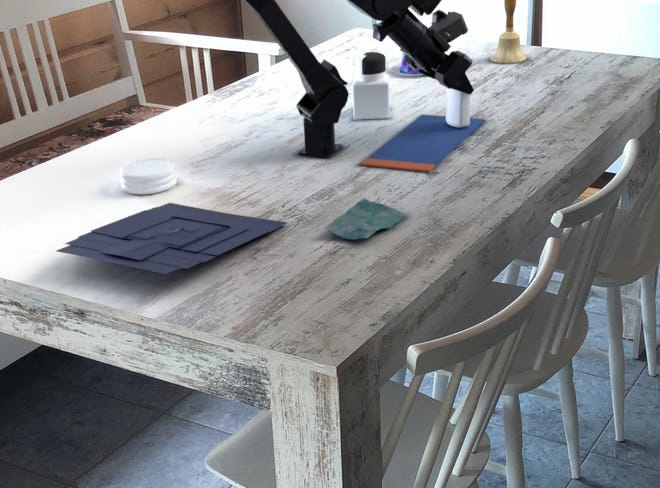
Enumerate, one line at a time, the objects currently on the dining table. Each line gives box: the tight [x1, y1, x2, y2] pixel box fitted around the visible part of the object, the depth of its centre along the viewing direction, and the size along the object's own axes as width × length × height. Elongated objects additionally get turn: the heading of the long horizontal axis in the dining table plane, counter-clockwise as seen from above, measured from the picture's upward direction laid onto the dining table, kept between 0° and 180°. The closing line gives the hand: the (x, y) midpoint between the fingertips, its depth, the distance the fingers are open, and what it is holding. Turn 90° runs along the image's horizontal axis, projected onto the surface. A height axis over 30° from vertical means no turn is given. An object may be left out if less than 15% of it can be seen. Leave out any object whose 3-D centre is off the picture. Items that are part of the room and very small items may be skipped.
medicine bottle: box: [352, 51, 390, 121], centre depth 209 cm, size 7×7×12 cm
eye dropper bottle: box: [445, 87, 472, 127], centre depth 197 cm, size 4×6×12 cm
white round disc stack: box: [118, 157, 178, 195], centre depth 186 cm, size 10×10×4 cm
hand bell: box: [489, 0, 528, 65], centre depth 236 cm, size 8×8×16 cm
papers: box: [55, 202, 289, 275], centre depth 160 cm, size 24×30×4 cm
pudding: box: [390, 52, 424, 77], centre depth 236 cm, size 12×12×5 cm
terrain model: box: [324, 198, 407, 240], centre depth 162 cm, size 13×8×2 cm, turn 146°
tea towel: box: [360, 114, 485, 173], centre depth 195 cm, size 30×13×1 cm, turn 152°
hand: (465, 88), depth 197 cm, fingers closed on eye dropper bottle, 5 cm apart
